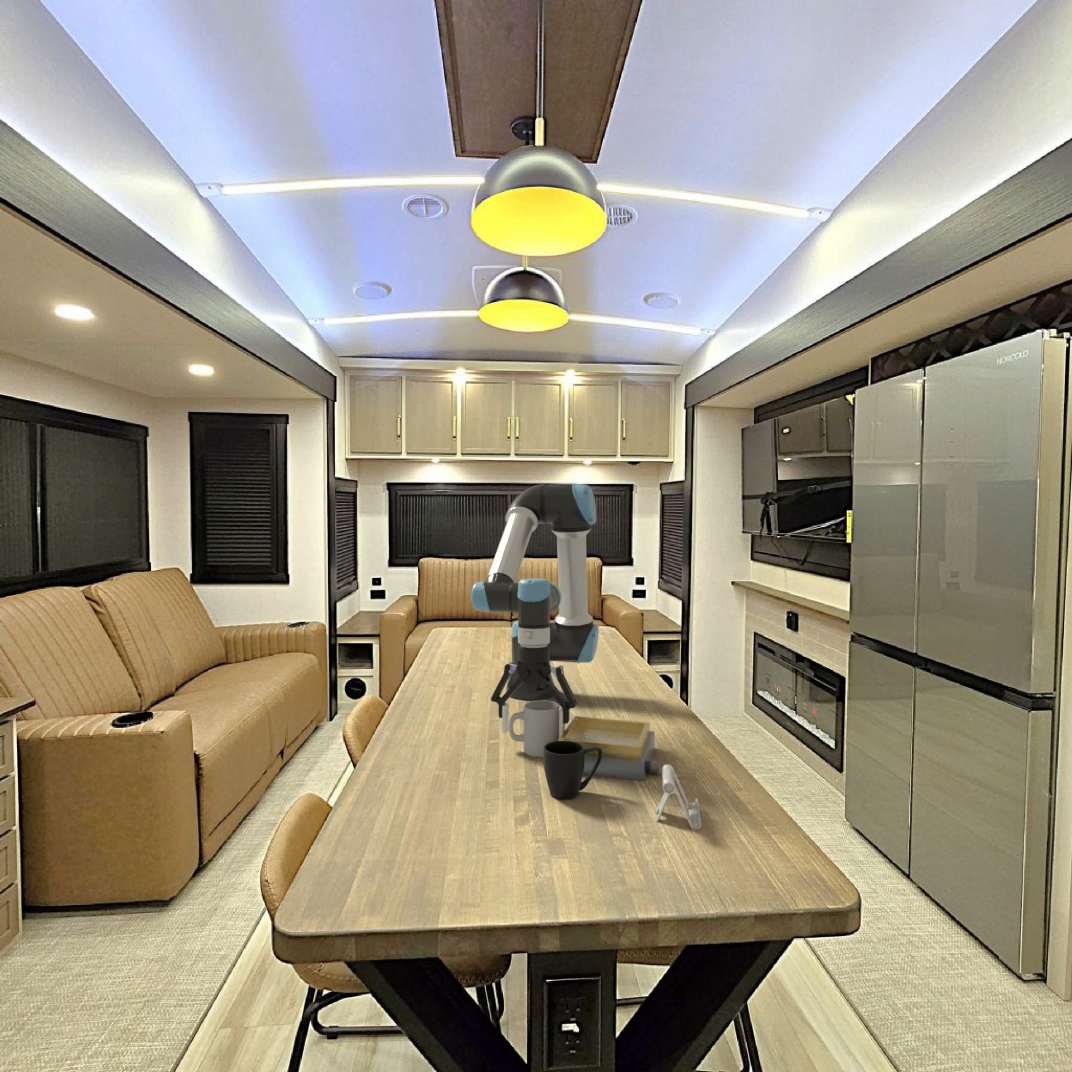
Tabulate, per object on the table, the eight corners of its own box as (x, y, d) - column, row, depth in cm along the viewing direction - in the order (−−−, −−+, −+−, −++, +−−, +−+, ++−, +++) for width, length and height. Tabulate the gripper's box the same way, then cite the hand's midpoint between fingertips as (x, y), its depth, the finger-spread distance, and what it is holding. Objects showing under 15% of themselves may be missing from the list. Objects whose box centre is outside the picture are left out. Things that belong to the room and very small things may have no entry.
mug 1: (556, 743, 162) (556, 699, 161) (562, 756, 153) (562, 709, 153) (507, 746, 160) (507, 701, 160) (510, 759, 152) (510, 712, 151)
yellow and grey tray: (552, 770, 145) (552, 741, 145) (572, 739, 164) (572, 714, 164) (657, 782, 139) (657, 751, 139) (666, 749, 158) (666, 722, 158)
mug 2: (607, 799, 131) (608, 751, 130) (548, 804, 129) (548, 756, 128) (596, 782, 139) (596, 737, 139) (539, 787, 137) (539, 741, 136)
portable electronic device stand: (701, 831, 118) (701, 784, 118) (656, 827, 120) (656, 781, 119) (698, 809, 127) (698, 766, 126) (656, 806, 128) (656, 763, 128)
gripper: (477, 644, 156) (477, 734, 156) (583, 650, 149) (582, 744, 149) (488, 639, 163) (488, 724, 163) (589, 644, 156) (589, 734, 156)
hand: (533, 734), depth 156 cm, fingers open, 13 cm apart
